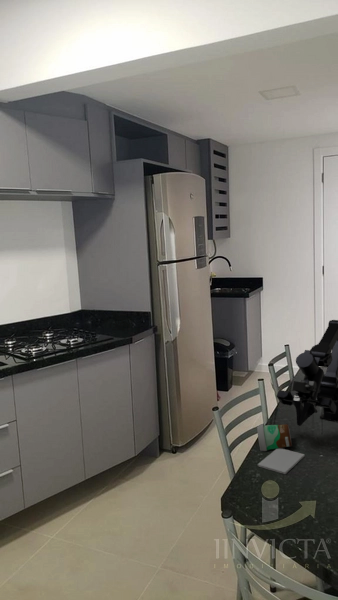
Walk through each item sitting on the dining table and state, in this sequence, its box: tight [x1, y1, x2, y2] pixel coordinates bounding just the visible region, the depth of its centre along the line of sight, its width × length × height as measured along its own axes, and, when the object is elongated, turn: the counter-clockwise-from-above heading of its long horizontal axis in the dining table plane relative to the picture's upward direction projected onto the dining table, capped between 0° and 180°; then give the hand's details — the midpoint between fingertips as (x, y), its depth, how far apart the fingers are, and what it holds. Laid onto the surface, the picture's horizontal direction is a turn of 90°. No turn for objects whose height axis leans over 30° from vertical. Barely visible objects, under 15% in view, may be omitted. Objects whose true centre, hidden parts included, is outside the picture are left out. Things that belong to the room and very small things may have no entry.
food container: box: [256, 423, 293, 452], centre depth 155 cm, size 12×6×10 cm
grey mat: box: [257, 448, 305, 475], centre depth 143 cm, size 13×9×1 cm
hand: (298, 425), depth 151 cm, fingers closed
